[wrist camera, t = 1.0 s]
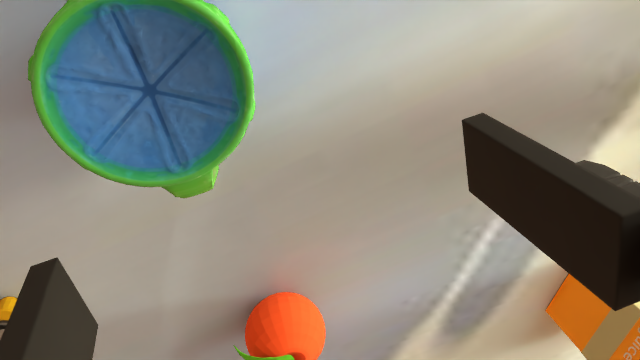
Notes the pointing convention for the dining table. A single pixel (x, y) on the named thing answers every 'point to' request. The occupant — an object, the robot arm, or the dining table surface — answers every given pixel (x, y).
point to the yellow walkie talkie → (6, 312)
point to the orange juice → (596, 323)
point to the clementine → (284, 329)
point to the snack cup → (144, 90)
